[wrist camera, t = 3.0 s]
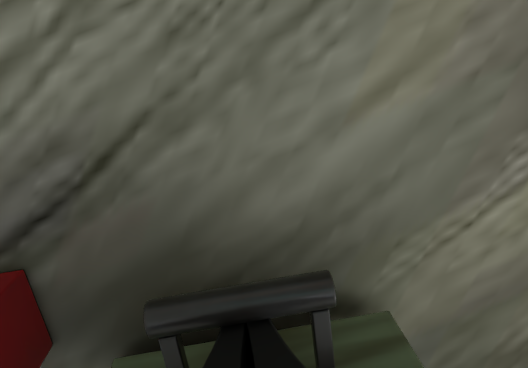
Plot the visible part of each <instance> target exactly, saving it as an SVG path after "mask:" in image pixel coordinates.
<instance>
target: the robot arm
mask: <svg viewBox="0 0 528 368" xmlns="http://www.w3.org/2000/svg"><path fill="white" fill-rule="evenodd" d="M202 368H306V367H305V366H304V365H303V364H302V363H301V362H300V361H299V360H298V358H297V357H296V356H295V355H294V354H293V352H292V351H291V350H290V348H289V347H288V346H287V344H286V343H285V342H284V340H283V339H282V337H281V336H280V334H279V333H278V331H277V330H276V328H275V326H274V325H273V323H272V321H271V319H265V320H259V321H253V322H247V323H242V324H236V325H230V326H224V327H221V330H220V332H219V335H218V337H217V339H216V341H215V344H214V346H213V348H212V350H211V352H210V354H209V356H208V358H207V360H206V362H205V364H204V366H203V367H202Z"/></svg>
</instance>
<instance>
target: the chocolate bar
mask: <svg viewBox="0 0 528 368" xmlns="http://www.w3.org/2000/svg"><path fill="white" fill-rule="evenodd" d="M51 347H52V341H51V339H50V336H49V334H48V331H47V329H46V326H45V323H44V321H43V318H42V316H41V313H40V311H39V308H38V306H37V303H36V301H35V298H34V296H33V293H32V291H31V288H30V285H29V283H28V280H27V278H26V275H25V273H24V271H23V270H18V271H12V272H6V273H0V368H40V366H41V364H42V363H43V361H44V359H45V357H46V356H47V354H48V352H49V351H50V349H51Z"/></svg>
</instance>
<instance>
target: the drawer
mask: <svg viewBox="0 0 528 368" xmlns="http://www.w3.org/2000/svg"><path fill="white" fill-rule="evenodd" d="M336 303H337V299H336V291H335V286H334V282H333V279H332V276H331V274H330V272H329V271H328V270H323V271H317V272H311V273H305V274H299V275H293V276H288V277H282V278H276V279H270V280H264V281H258V282H252V283H246V284H240V285H234V286H228V287H222V288H216V289H211V290H205V291H199V292H193V293H187V294H181V295H175V296H169V297H163V298H157V299H151V300H148V301H147V302H146V303H145V307H144V327H145V331H146V334H147V336H148V337H149V338H150V339H155V338H159V339H158V341H159V345H160V348H161V351H155V352H149V353H144V354H138V355H132V356H127V357H121V358H115V359H114V360H113V363H112V366H111V368H202V367H203V366H204V364H205V362H206V360H207V358H208V356H209V354H210V352H211V350H212V348H213V346H214V344H215V341H213V342H207V343H201V344H195V345H190V346H183V342H182V338H181V334H184V333H189V332H195V331H201V330H207V329H213V328H218V327H224V326H230V325H236V324H242V323H247V322H253V321H259V320H265V319H270V318H276V317H282V316H288V315H294V314H299V313H305V312H310V320H311V324H310V325H305V326H299V327H293V328H287V329H282V330H277V331H278V333H279V334H280V336H281V337H282V339H283V340H284V342H285V343H286V344H287V346H288V347H289V348H290V350H291V351H292V352H293V354H294V355H295V356H296V357H297V358H298V360H299V361H300V362H301V363H302V364H303V365H304V366H305V367H306V368H424V367H423V365H422V364H421V362H420V360H419V359H418V357H417V355H416V354H415V352H414V351H413V349H412V347H411V346H410V344H409V343H408V341H407V339H406V338H405V336H404V334H403V333H402V331H401V330H400V328H399V326H398V325H397V323H396V322H395V320H394V318H393V317H392V315H391V314H390V312H389V311H385V312H379V313H373V314H368V315H362V316H356V317H351V318H345V319H339V320H333V321H331V320H330V310H329V308H334V307H335V306H336Z"/></svg>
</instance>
